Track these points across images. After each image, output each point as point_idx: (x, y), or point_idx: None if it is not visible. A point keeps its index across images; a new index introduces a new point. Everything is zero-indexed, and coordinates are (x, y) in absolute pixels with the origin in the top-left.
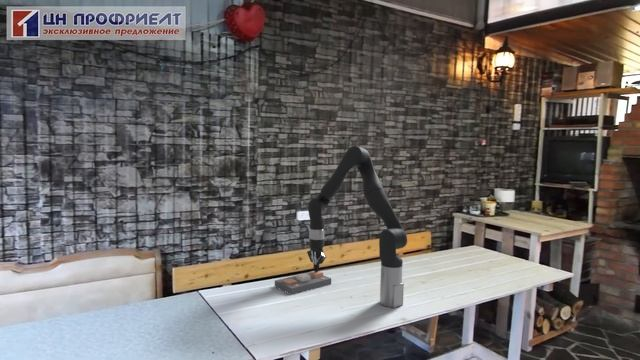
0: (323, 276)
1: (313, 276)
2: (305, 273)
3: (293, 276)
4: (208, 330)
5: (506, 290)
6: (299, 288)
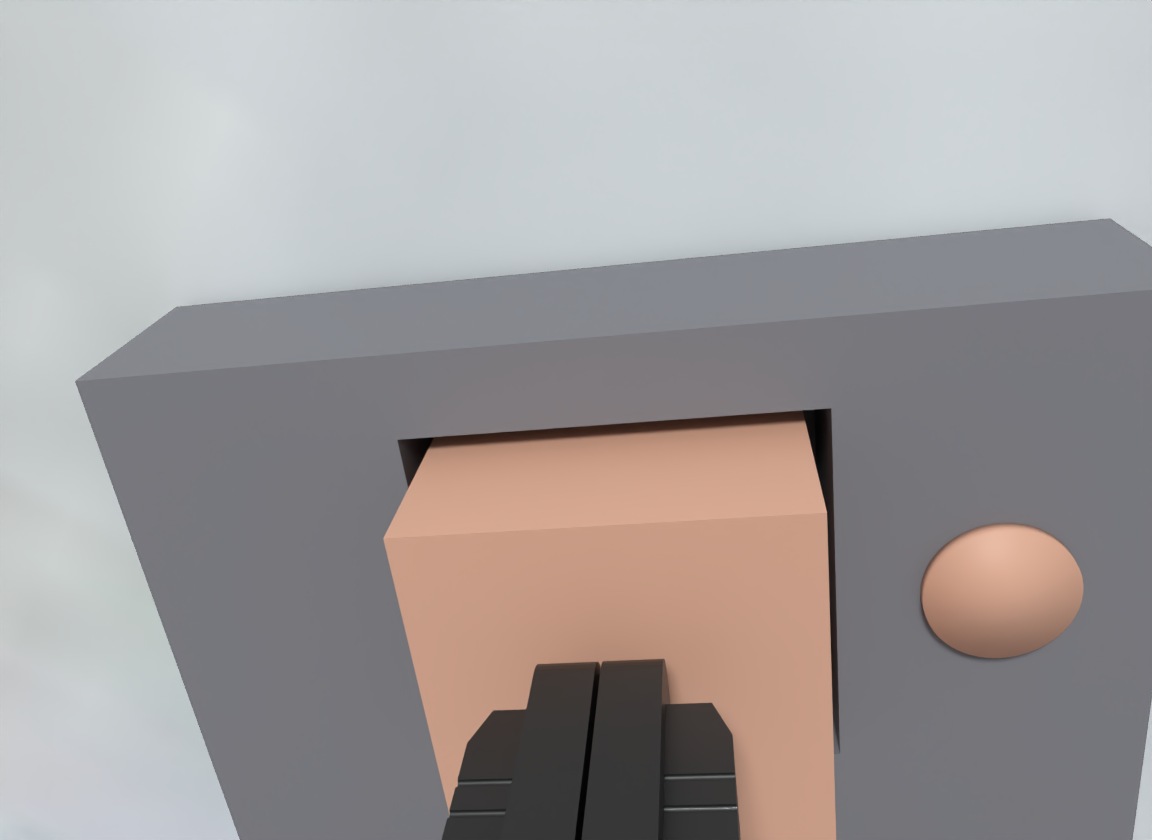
0: (800, 409)
1: None
2: (208, 707)
3: None
4: None
5: None
6: None
